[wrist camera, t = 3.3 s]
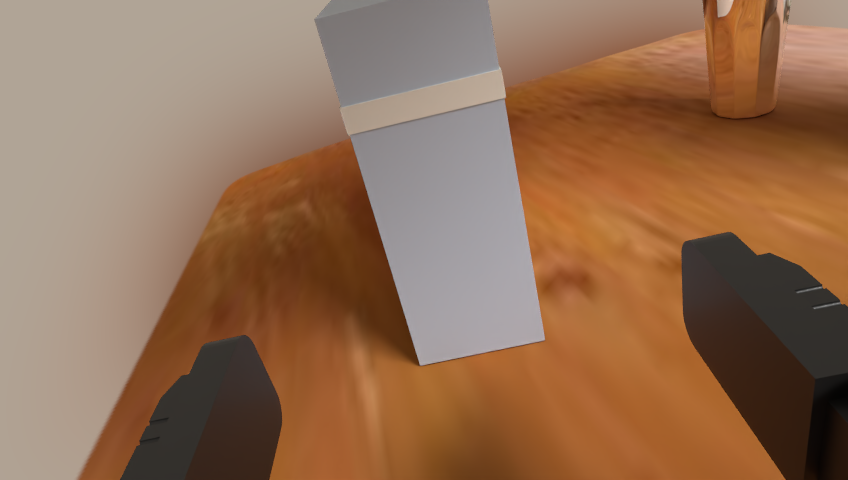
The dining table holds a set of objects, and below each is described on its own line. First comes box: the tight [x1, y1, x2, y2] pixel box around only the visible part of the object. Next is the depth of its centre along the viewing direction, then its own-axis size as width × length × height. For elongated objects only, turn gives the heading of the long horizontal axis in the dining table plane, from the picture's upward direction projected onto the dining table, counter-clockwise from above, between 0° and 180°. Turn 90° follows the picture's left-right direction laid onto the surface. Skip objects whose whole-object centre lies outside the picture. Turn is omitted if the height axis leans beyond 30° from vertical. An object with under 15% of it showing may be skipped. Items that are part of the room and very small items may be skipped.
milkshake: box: [702, 0, 791, 119], centre depth 31 cm, size 4×5×10 cm
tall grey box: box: [315, 0, 545, 366], centre depth 20 cm, size 5×5×12 cm
